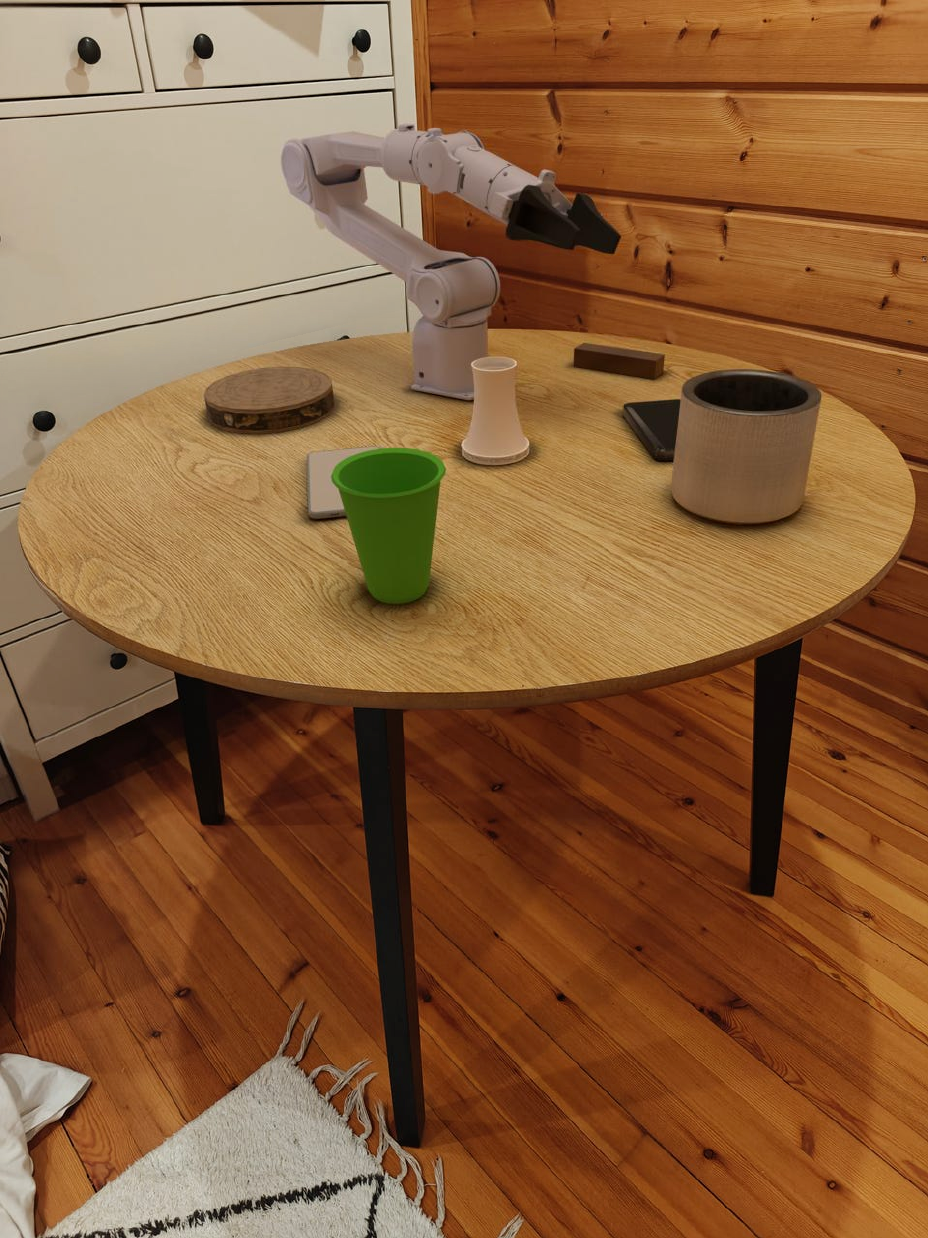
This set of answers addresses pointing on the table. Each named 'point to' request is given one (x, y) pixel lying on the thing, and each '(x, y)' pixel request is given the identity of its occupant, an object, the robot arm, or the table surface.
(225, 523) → the table surface
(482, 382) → the vase
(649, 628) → the table surface
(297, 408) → the wood slice
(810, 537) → the table surface
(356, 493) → the cup
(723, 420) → the planter
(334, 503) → the smartphone
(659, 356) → the bar
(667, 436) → the black beveled tile
